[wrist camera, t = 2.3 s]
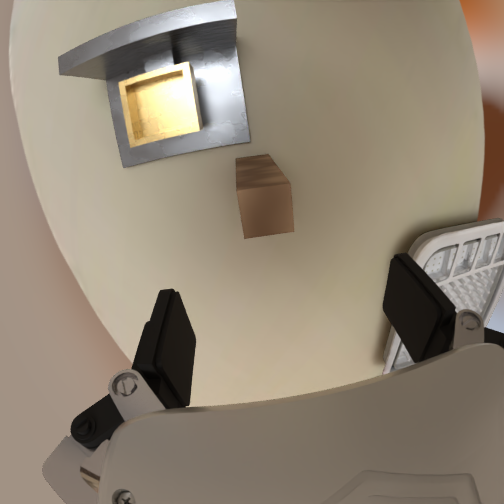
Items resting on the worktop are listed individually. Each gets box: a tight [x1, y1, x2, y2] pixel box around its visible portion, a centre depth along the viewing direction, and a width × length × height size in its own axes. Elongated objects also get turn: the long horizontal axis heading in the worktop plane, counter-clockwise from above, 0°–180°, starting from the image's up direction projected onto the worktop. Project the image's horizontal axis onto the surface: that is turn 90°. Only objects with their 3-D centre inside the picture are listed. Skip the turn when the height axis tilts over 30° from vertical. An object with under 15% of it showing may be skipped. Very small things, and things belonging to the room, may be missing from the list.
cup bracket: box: [58, 0, 250, 168], centre depth 22 cm, size 16×14×12 cm
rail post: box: [236, 154, 294, 239], centre depth 27 cm, size 4×4×14 cm
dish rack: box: [382, 218, 504, 375], centre depth 42 cm, size 32×37×8 cm
